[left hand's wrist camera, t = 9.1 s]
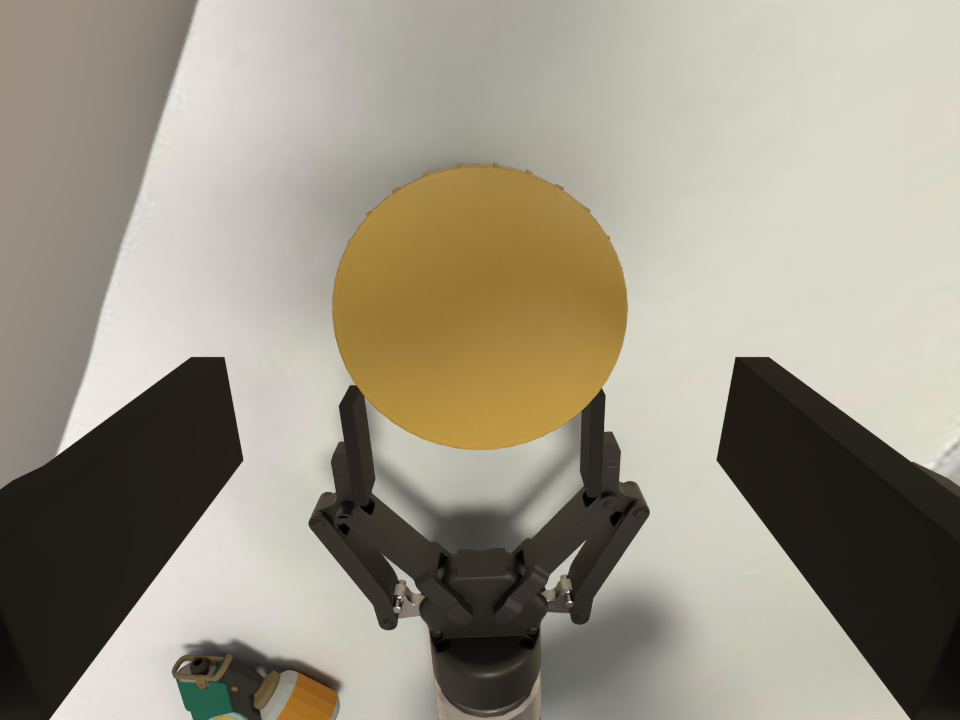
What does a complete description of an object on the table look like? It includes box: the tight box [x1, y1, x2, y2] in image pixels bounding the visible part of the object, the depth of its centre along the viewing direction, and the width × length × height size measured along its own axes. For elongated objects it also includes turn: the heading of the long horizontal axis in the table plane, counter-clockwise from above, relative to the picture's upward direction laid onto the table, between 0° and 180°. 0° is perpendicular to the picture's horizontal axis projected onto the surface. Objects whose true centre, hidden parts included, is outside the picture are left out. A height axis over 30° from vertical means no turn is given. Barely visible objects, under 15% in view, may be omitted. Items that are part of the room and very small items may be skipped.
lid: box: [333, 162, 628, 450], centre depth 20 cm, size 10×10×2 cm
